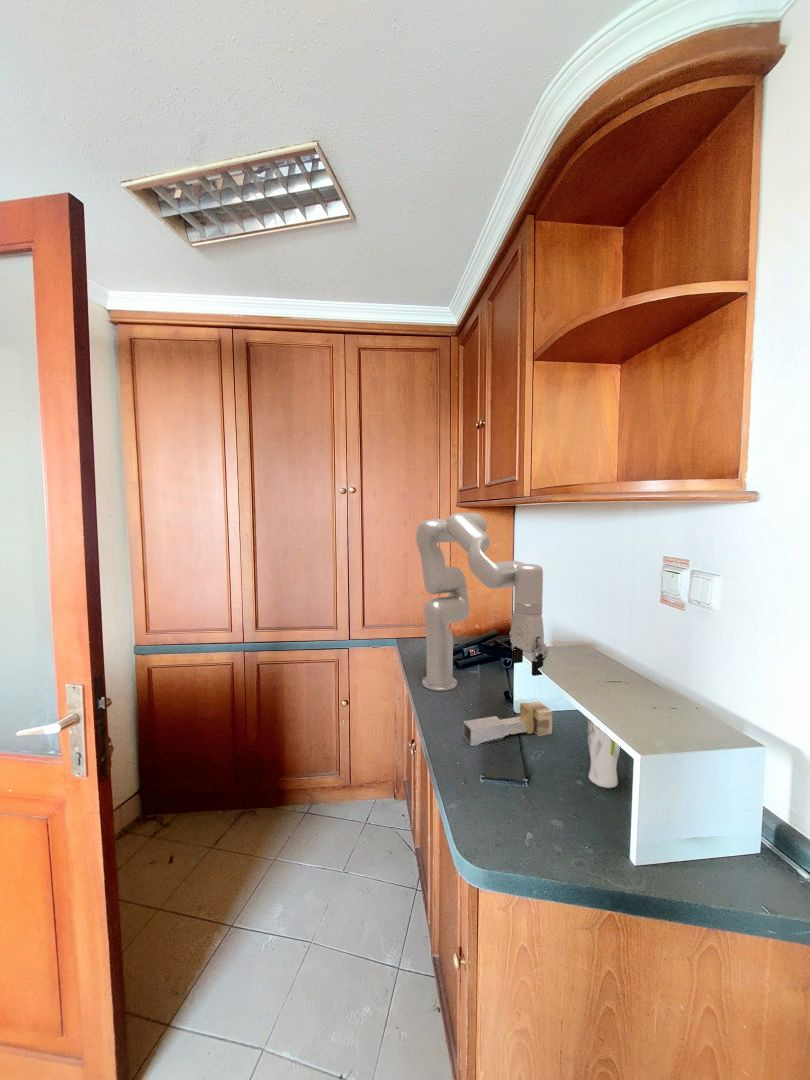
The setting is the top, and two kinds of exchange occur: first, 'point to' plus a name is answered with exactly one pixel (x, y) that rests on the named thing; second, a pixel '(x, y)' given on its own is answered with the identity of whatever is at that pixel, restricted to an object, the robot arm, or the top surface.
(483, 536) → the robot arm
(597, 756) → the beer glass
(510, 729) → the beige and yellow bar
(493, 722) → the sleeve
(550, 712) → the socket block
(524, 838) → the top surface
